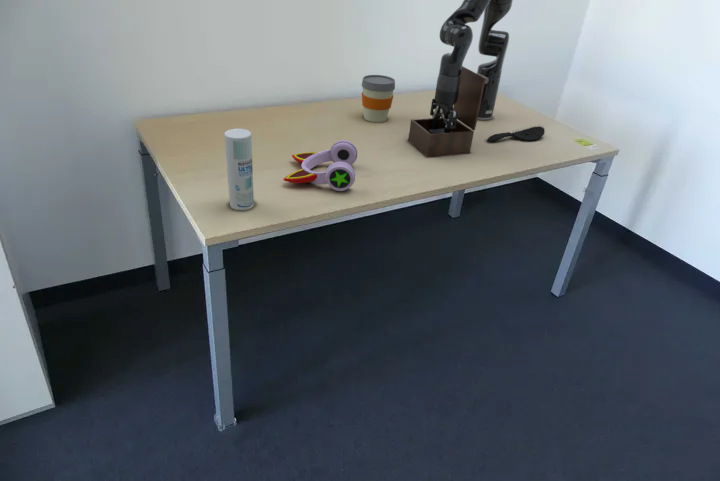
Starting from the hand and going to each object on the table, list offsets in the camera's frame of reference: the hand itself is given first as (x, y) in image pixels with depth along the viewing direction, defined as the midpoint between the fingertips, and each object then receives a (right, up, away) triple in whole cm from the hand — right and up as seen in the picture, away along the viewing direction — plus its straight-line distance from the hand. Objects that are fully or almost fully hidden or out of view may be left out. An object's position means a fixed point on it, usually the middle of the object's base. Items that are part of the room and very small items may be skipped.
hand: (440, 134), depth 182 cm
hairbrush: (+30, +1, +14) cm, 33 cm away
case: (0, -4, +2) cm, 5 cm away
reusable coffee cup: (-22, +10, +22) cm, 33 cm away
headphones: (-39, -18, -24) cm, 49 cm away
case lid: (+8, +11, -4) cm, 15 cm away
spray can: (-59, -27, -42) cm, 78 cm away
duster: (0, -3, +1) cm, 4 cm away
